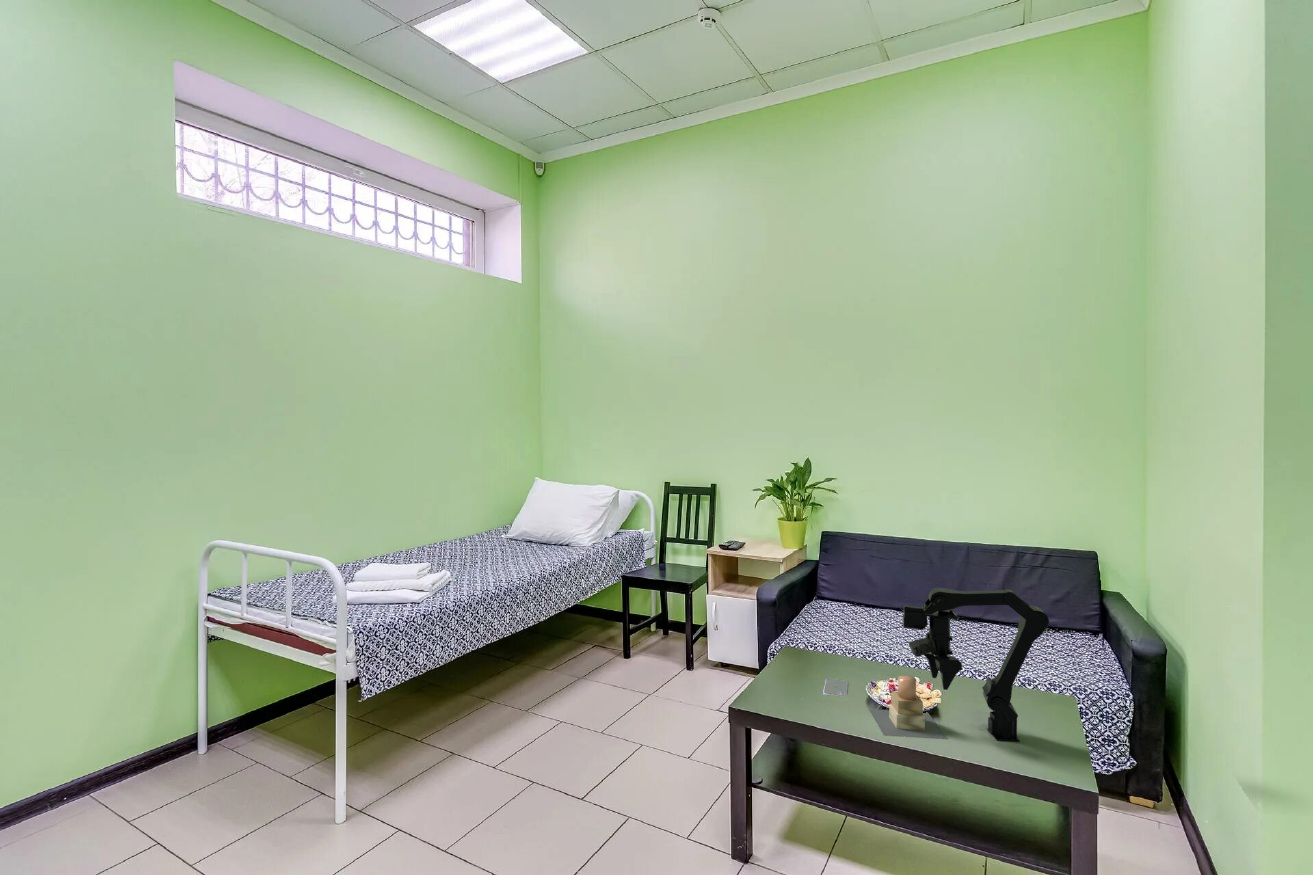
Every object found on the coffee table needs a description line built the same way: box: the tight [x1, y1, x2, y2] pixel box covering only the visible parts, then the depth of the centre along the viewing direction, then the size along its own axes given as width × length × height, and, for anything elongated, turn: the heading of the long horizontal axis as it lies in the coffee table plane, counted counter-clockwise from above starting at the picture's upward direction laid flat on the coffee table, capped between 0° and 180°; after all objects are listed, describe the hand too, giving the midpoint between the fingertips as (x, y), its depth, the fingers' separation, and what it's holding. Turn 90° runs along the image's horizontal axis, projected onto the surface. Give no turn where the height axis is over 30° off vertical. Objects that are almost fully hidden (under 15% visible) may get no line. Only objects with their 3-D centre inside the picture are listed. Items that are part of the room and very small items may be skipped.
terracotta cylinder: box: [897, 674, 917, 700], centre depth 188 cm, size 5×5×6 cm
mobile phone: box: [822, 678, 849, 697], centre depth 215 cm, size 8×1×15 cm
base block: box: [888, 703, 925, 730], centre depth 188 cm, size 8×8×4 cm
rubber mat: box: [868, 708, 949, 740], centre depth 188 cm, size 18×18×1 cm
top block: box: [891, 691, 924, 716], centre depth 188 cm, size 7×7×4 cm
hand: (939, 683), depth 187 cm, fingers open, 9 cm apart
